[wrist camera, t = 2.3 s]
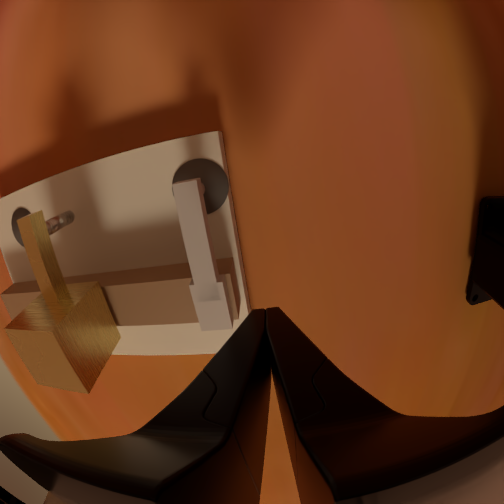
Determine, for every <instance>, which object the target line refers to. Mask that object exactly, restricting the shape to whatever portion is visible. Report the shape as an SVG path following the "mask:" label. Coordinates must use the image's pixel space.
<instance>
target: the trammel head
mask: <svg viewBox="0 0 504 504" xmlns="http://www.w3.org/2000/svg"><path fill="white" fill-rule="evenodd" d="M74 219H75V215H74V213H73V212H72V211H71V210H67V211H65V212H63V213H61V214H58V215H56V216H54V217H52V218H50V219H49V220H47V221H45V219H44V215H43V211H42V210H40V211H37V212H34V213H31V214H29V215H26V216H24V217H22V218H20V219H18V220H17V223H18V227H19V230H20V234H21V237H22V240H23V244H24V247H25V250H26V253H27V256H28V259H29V262H30V264H31V267H32V270H33V273H34V275H35V278H36V280H37V283H38V285H39V288H40V290H41V294H40V295H39V296H38V297H37V298H35V299H34V300H33V301H32V302H31V303H30V304H29V305H28V306H27V307H26V308H25V309H24V310H23V311H22V312H20V313H19V314H18V315H17V316H16V317H15V318H14V319H13V320H12V321H11V322H10V323H9V324H8V325H7V326H6V327H5V328H4V329H5V331H6V333H7V335H8V337H9V338H10V340H11V342H12V344H13V345H14V347H15V349H16V351H17V352H18V354H19V356H20V357H21V359H22V361H23V362H24V364H25V365H26V367H27V369H28V370H29V372H30V373H31V375H32V376H33V378H34V379H35V381H36V382H37V384H40V385H44V386H49V387H53V388H58V389H63V390H69V391H74V392H80V393H86V394H89V393H90V391H91V389H92V387H93V385H94V384H95V382H96V380H97V378H98V376H99V375H100V373H101V371H102V369H103V368H104V366H105V364H106V362H107V361H108V359H109V357H110V356H111V354H112V352H113V350H114V349H115V347H116V345H117V344H118V342H119V340H120V339H121V336H120V333H119V331H118V329H117V327H116V324H115V322H114V320H113V317H112V315H111V312H110V310H109V307H108V305H107V302H106V300H105V297H104V295H103V292H102V289H101V287H100V284H99V281H93V282H83V283H73V284H66V283H65V280H64V278H63V275H62V272H61V270H60V267H59V264H58V261H57V258H56V255H55V252H54V249H53V246H52V243H51V240H50V235H52V234H53V233H55V232H57V231H58V230H60V229H62V228H64V227H65V226H67V225H69V224H71V223H72V222H73V221H74Z"/></svg>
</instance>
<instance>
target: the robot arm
mask: <svg viewBox="0 0 504 504" xmlns="http://www.w3.org/2000/svg"><path fill="white" fill-rule="evenodd" d="M487 205H488V208H487ZM491 299H493V300H494V301H495V302H496V303H497V304H498V305H499V306H500V307H502V308H503V309H504V196H488V197H484V198H483V199H482V200H481V202H480V208H479V221H478V230H477V239H476V246H475V253H474V260H473V266H472V271H471V276H470V281H469V286H468V291H467V295H466V300H467V302H468V303H469V304H471V305H475V304H478V303H482V302H485V301H488V300H491ZM271 369H272V376H273V381H274V386H275V390H276V395H277V399H278V404H279V408H280V413H281V417H282V422H283V426H284V431H285V435H286V440H287V444H288V449H289V453H290V458H291V462H292V467H293V471H294V476H295V480H296V484H297V489H298V492H299V498H300V502H301V504H504V406H502V407H500V408H498V409H496V410H494V411H492V412H489V413H486V414H482V415H477V416H469V417H424V416H408V415H403V414H401V413H398V412H396V411H394V410H392V409H390V408H389V407H387V406H386V405H385V404H383V403H382V402H380V401H379V400H378V399H376V398H375V397H374V396H372V395H371V394H369V393H368V392H367V391H365V390H364V389H363V388H361V387H360V386H359V385H357V384H356V383H355V382H353V381H352V380H351V379H350V378H348V377H347V376H346V375H345V374H344V373H343V372H342V371H340V370H339V369H338V368H337V367H336V366H335V365H334V364H333V363H332V362H331V361H330V360H329V359H328V358H327V357H326V356H325V355H324V354H323V353H322V352H321V351H320V350H319V348H318V347H317V346H316V345H315V344H314V343H313V342H312V341H311V340H310V339H309V338H308V337H307V336H306V335H305V334H304V333H303V332H302V331H301V330H300V329H299V328H298V327H297V326H296V325H295V324H294V323H293V322H292V321H291V319H290V318H289V317H288V316H287V315H286V314H285V313H284V312H283V311H282V310H281V309H280V308H279V307H272V308H267V309H266V310H265V309H254V310H252V311H251V312H250V313H249V315H248V316H247V317H246V318H245V319H244V321H243V322H242V323H241V324H240V326H239V327H238V328H237V329H236V330H235V332H234V333H233V334H232V335H231V336H230V338H229V339H228V340H227V341H226V343H225V344H224V345H223V346H222V347H221V349H220V350H219V351H218V352H217V353H216V355H215V356H214V357H213V358H212V359H211V360H210V362H209V363H208V364H207V365H206V366H205V368H204V369H203V371H201V372H200V373H199V374H198V376H197V377H196V378H195V379H194V380H193V381H192V382H191V383H190V384H189V386H188V387H187V388H186V389H185V390H184V391H183V392H182V393H181V394H179V395H178V396H177V397H176V398H175V399H174V400H173V401H172V402H171V403H170V404H169V405H167V406H166V407H165V408H164V409H163V410H162V411H161V412H159V413H158V414H157V415H156V416H155V417H154V418H152V419H151V420H150V421H149V422H148V423H147V424H145V425H144V426H143V427H142V428H140V429H138V430H137V431H135V432H133V433H131V434H127V435H123V436H117V437H109V438H101V439H91V440H79V441H47V440H42V439H39V438H36V437H34V436H31V435H29V434H25V433H19V434H10V435H6V436H3V437H1V438H0V450H1V451H2V453H3V454H4V455H5V456H6V457H7V458H8V459H10V460H11V461H12V462H13V463H14V464H15V465H16V466H17V467H19V468H20V469H21V470H22V471H23V472H25V473H26V474H27V475H28V476H29V477H31V478H32V479H33V480H34V481H36V482H37V483H38V484H39V485H41V486H42V487H43V488H45V489H46V490H48V494H47V496H46V499H45V501H44V504H259V501H260V492H261V483H262V474H263V465H264V455H265V445H266V435H267V424H268V413H269V401H270V389H271ZM0 504H25V503H24V502H22V501H20V500H19V499H17V498H16V497H14V496H13V495H12V494H10V493H9V492H8V491H6V490H5V489H4V488H2V487H1V486H0Z"/></svg>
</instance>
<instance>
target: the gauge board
mask: <svg viewBox="0 0 504 504" xmlns="http://www.w3.org/2000/svg"><path fill="white" fill-rule="evenodd" d="M40 210H42V211H43V215H44V219H45V221H47V220H49V219H50V218H52V217H54V216H56V215H58V214H61V213H63V212H65V211H67V210H71V211H72V212H73V213H74V215H75V219H74V221H73V222H72V223H71V224H69V225H67V226H65V227H64V228H62V229H60V230H58V231H57V232H55V233H53V234H52V235H50V240H51V243H52V246H53V249H54V252H55V255H56V258H57V261H58V264H59V267H60V270H61V272H62V275H63V278H64V280H65V283H66V284H73V283H83V282H93V281H99V284H100V287H101V289H102V292H103V295H104V297H105V300H106V302H107V305H108V307H109V310H110V312H111V315H112V317H113V320H114V322H115V324H116V327H117V329H118V331H119V333H120V336H121V339H120V340H119V342H118V344H117V345H116V347H115V349H114V350H113V352H112V354H116V355H189V354H212V353H217V352H218V351H219V350H220V349H221V347H222V346H223V345H224V344H225V343H226V341H227V340H228V339H229V338H230V336H231V335H232V334H233V333H234V332H235V330H236V329H237V328H238V327H239V326H240V324H241V323H242V322H243V321H244V319H245V318H246V317H247V316H248V315H249V313H250V312H251V308H250V302H249V296H248V291H247V285H246V279H245V273H244V267H243V261H242V255H241V249H240V243H239V237H238V231H237V225H236V219H235V212H234V206H233V200H232V194H231V188H230V181H229V175H228V169H227V162H226V156H225V150H224V143H223V137H222V132H221V131H214V132H208V133H203V134H198V135H193V136H188V137H183V138H178V139H174V140H169V141H165V142H161V143H157V144H153V145H149V146H145V147H141V148H137V149H133V150H130V151H126V152H123V153H119V154H116V155H112V156H109V157H106V158H103V159H99V160H96V161H93V162H90V163H87V164H84V165H81V166H78V167H76V168H73V169H70V170H67V171H64V172H62V173H59V174H56V175H54V176H51V177H49V178H46V179H44V180H41V181H39V182H36V183H34V184H32V185H29V186H27V187H25V188H22V189H20V190H18V191H16V192H13V193H11V194H9V195H7V196H5V197H3V198H1V199H0V248H1V251H2V254H3V257H4V260H5V263H6V266H7V268H8V271H9V274H10V276H11V279H12V281H13V285H11V286H10V287H9V288H8V289H6V290H5V291H4V292H3V293H2V294H0V295H1V297H2V300H3V302H4V304H5V306H6V308H7V311H8V313H9V315H10V317H11V319H12V320H13V319H14V318H15V317H16V316H17V315H18V314H19V313H20V312H22V311H23V310H24V309H25V308H26V307H27V306H28V305H29V304H30V303H31V302H32V301H33V300H34V299H35V298H37V297H38V296H39V295H40V294H41V290H40V288H39V285H38V283H37V280H36V278H35V275H34V273H33V270H32V267H31V264H30V262H29V259H28V256H27V253H26V250H25V247H24V244H23V240H22V237H21V234H20V230H19V227H18V223H17V220H18V219H20V218H22V217H24V216H26V215H29V214H31V213H34V212H37V211H40Z"/></svg>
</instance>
